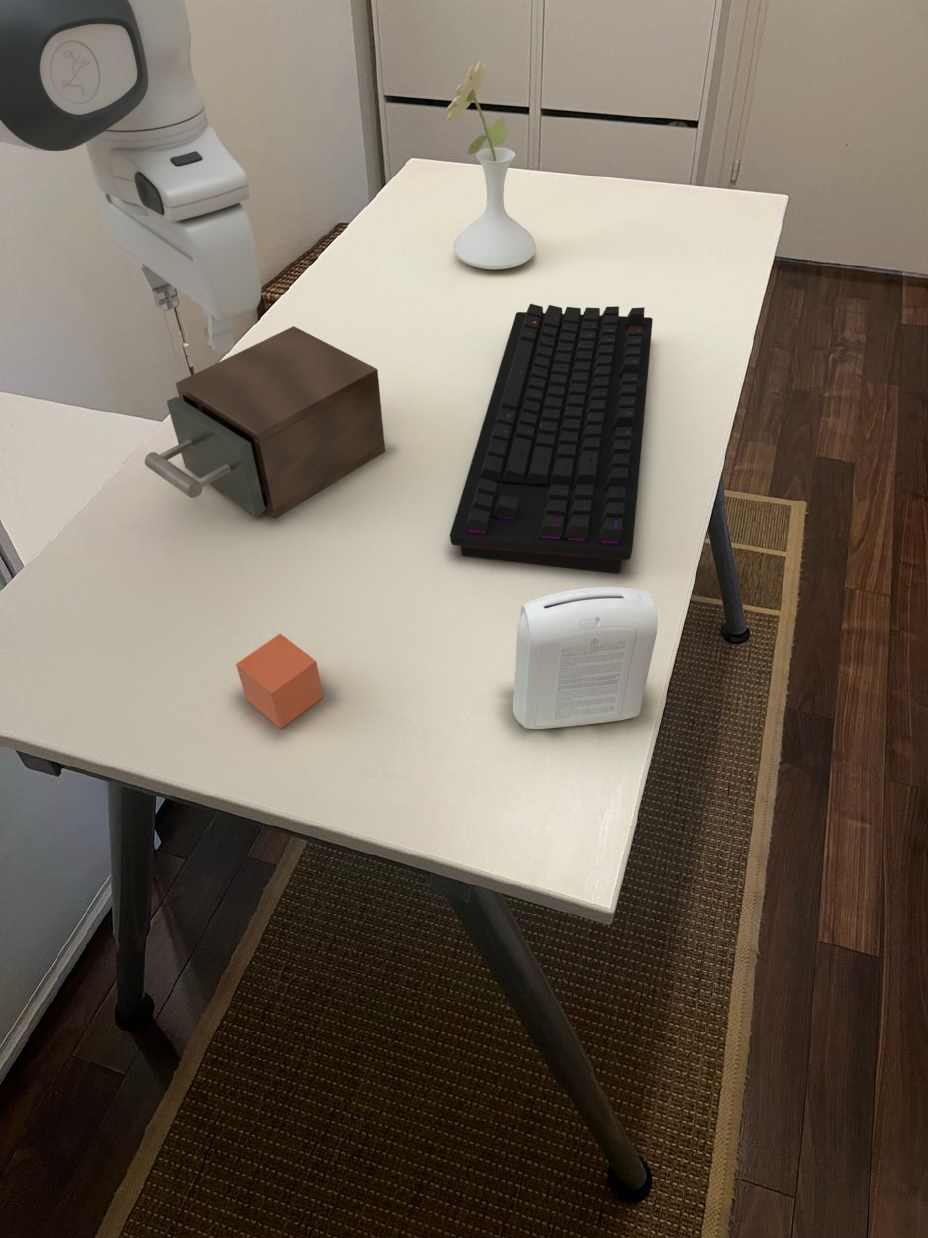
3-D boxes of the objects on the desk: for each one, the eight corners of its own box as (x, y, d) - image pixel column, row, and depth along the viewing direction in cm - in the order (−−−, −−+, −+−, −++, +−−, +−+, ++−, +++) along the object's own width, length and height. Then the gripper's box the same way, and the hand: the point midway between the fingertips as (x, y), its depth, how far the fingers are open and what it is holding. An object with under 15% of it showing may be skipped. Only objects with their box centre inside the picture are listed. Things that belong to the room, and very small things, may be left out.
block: (280, 729, 72) (271, 693, 69) (246, 700, 74) (235, 663, 71) (323, 697, 74) (316, 661, 71) (288, 669, 76) (280, 632, 73)
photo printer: (633, 679, 75) (653, 567, 66) (647, 721, 72) (670, 610, 63) (508, 694, 74) (511, 582, 65) (517, 737, 71) (522, 626, 62)
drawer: (213, 542, 86) (194, 473, 81) (143, 490, 92) (120, 423, 86) (360, 453, 96) (352, 387, 90) (288, 411, 101) (277, 346, 96)
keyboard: (515, 332, 114) (516, 293, 111) (649, 342, 112) (655, 303, 109) (449, 559, 86) (448, 517, 82) (627, 580, 83) (634, 537, 80)
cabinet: (275, 518, 90) (257, 434, 83) (197, 465, 96) (174, 382, 89) (385, 451, 97) (377, 368, 90) (306, 406, 104) (293, 325, 97)
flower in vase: (494, 233, 134) (495, 36, 116) (552, 258, 128) (563, 53, 110) (428, 263, 128) (418, 59, 110) (486, 290, 122) (486, 79, 104)
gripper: (54, 126, 72) (105, 294, 82) (178, 206, 61) (220, 388, 71) (129, 108, 75) (169, 273, 85) (260, 181, 64) (289, 360, 74)
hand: (193, 326), depth 78 cm, fingers open, 8 cm apart
